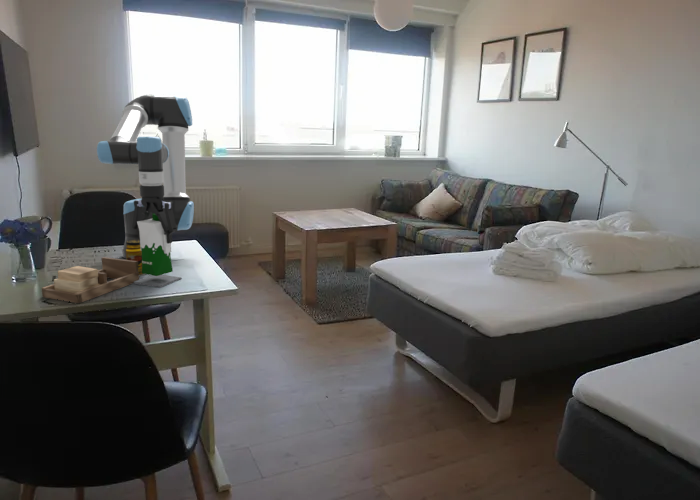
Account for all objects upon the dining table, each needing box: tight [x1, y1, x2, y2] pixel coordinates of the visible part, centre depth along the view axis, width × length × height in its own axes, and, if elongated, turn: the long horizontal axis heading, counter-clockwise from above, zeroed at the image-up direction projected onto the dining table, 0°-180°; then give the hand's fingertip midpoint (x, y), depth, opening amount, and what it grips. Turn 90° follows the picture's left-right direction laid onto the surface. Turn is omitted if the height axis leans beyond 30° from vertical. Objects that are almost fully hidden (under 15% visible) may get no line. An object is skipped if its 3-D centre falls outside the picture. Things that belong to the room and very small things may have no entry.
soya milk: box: [137, 213, 174, 276], centre depth 172 cm, size 9×9×20 cm
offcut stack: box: [53, 265, 100, 293], centre depth 160 cm, size 8×10×8 cm
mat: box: [133, 274, 182, 288], centre depth 175 cm, size 11×11×1 cm
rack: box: [41, 256, 140, 304], centre depth 165 cm, size 25×14×7 cm, turn 161°
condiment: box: [125, 240, 145, 277], centre depth 183 cm, size 7×8×12 cm
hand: (156, 251), depth 173 cm, fingers closed on soya milk, 9 cm apart
